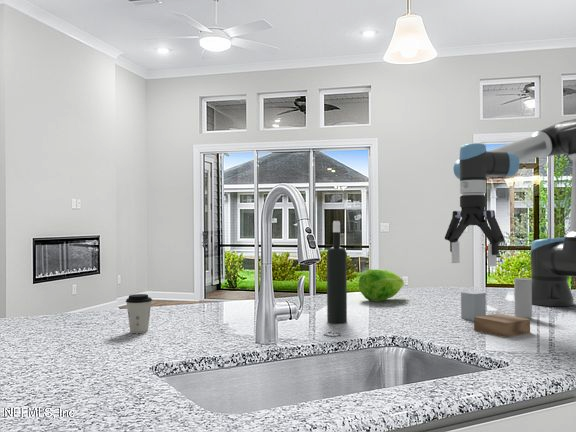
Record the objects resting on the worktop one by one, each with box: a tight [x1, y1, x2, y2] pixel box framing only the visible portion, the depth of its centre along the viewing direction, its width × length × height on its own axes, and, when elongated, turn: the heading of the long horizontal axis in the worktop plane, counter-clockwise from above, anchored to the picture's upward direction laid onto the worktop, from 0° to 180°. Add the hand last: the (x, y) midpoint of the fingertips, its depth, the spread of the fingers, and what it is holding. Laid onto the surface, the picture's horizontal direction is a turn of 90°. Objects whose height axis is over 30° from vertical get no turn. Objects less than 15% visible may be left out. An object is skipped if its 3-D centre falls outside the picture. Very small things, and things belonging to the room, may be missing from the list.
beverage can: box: [513, 277, 533, 320], centre depth 158 cm, size 5×5×12 cm
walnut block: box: [473, 313, 531, 338], centre depth 139 cm, size 10×10×4 cm
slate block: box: [460, 290, 487, 322], centre depth 156 cm, size 5×5×8 cm
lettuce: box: [358, 268, 405, 303], centre depth 193 cm, size 14×20×12 cm
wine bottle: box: [326, 220, 348, 325], centre depth 153 cm, size 6×6×30 cm
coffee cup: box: [125, 293, 153, 335], centre depth 140 cm, size 7×7×10 cm
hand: (473, 264), depth 156 cm, fingers open, 13 cm apart
